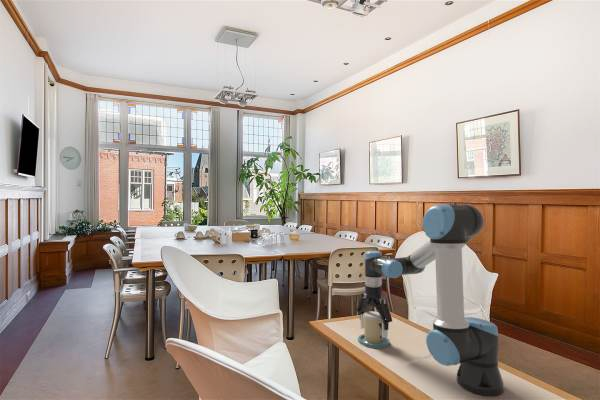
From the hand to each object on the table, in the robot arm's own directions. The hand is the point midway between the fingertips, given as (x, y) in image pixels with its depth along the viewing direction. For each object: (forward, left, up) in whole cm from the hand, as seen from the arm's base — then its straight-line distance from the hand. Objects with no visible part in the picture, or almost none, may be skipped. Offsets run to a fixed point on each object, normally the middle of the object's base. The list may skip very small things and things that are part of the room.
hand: (373, 332), depth 164 cm
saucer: (0, 0, -5) cm, 5 cm away
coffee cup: (0, 0, -4) cm, 4 cm away
